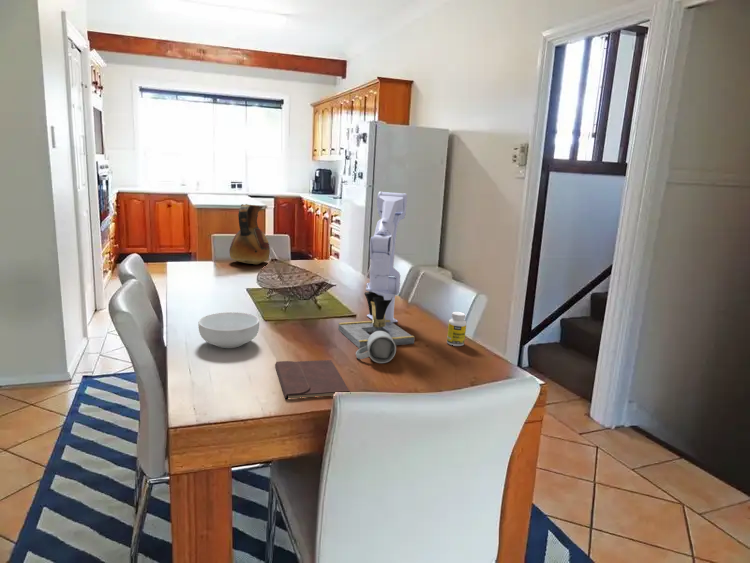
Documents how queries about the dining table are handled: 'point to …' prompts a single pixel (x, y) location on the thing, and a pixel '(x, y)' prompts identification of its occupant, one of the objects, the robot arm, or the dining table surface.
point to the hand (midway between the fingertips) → (376, 316)
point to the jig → (360, 330)
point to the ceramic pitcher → (249, 238)
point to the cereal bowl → (228, 329)
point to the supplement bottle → (456, 329)
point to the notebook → (309, 378)
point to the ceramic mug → (378, 348)
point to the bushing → (375, 322)
